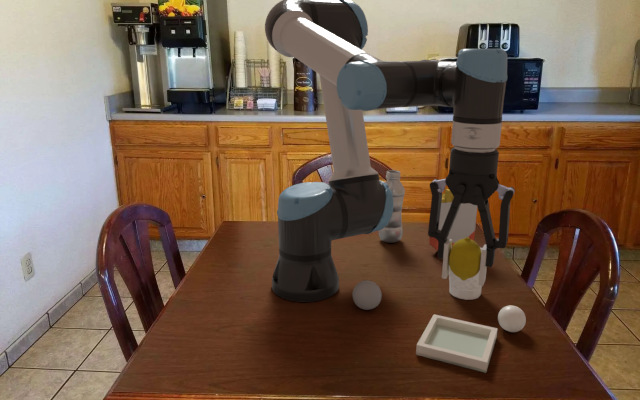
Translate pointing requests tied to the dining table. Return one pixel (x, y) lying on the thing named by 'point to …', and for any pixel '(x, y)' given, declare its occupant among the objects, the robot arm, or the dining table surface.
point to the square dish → (458, 342)
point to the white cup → (464, 286)
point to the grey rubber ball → (367, 295)
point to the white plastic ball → (511, 318)
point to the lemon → (465, 258)
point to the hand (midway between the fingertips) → (463, 278)
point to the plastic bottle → (394, 209)
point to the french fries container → (457, 220)
